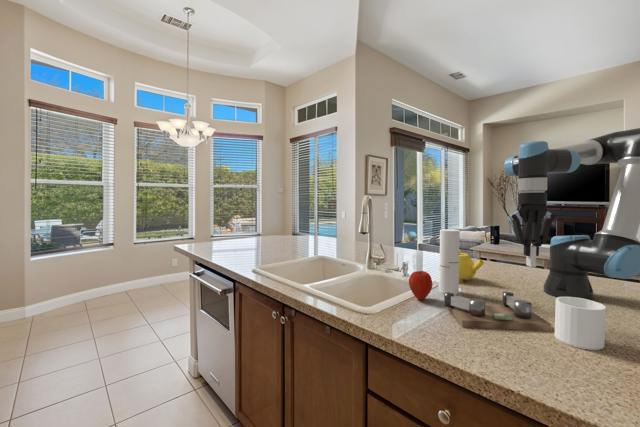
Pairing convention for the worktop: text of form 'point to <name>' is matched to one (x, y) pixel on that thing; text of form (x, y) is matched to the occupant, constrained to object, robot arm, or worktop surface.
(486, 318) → the levelling board
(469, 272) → the teapot
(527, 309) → the knob
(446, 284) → the cylindrical container
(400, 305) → the worktop surface
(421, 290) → the apple
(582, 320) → the mug
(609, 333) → the worktop surface
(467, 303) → the knob
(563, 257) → the robot arm
